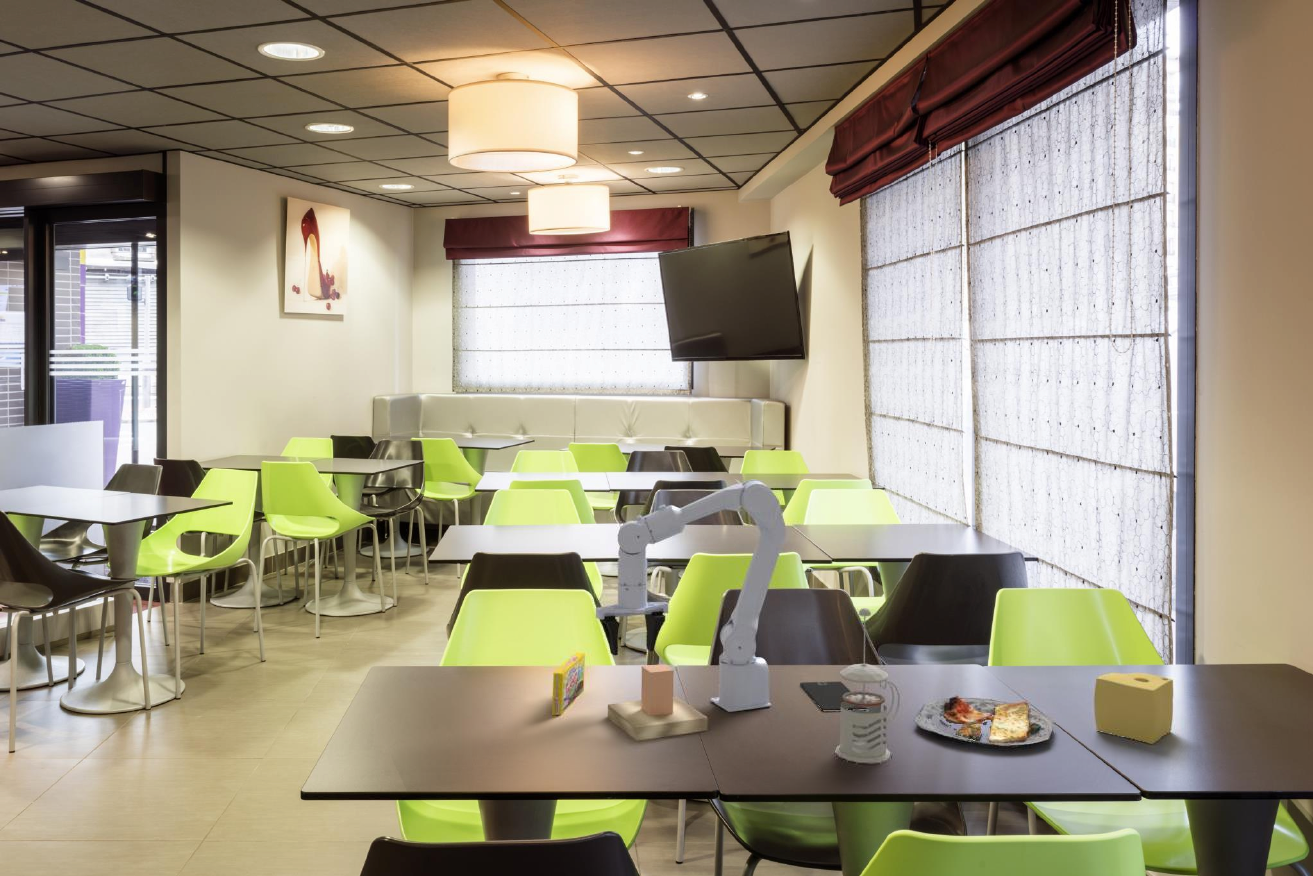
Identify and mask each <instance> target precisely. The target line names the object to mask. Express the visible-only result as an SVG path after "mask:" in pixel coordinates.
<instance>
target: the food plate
mask: <svg viewBox="0 0 1313 876" xmlns="http://www.w3.org/2000/svg"><path fill="white" fill-rule="evenodd" d="M954 695H955V694H954ZM984 713H990V714H984ZM935 715H939V716H940V717H941V716H943V717H944V718H945V719H946V721H947V722H949V723H954V724H963V725H962V726H963V727H961V729H959V730H958V731H957V732H955V736H954V735H952V734H949V733H947V732H943V731H944V730H943V731H941V729H940V728H939V729H938V728H937V727H936V725H934V724H935V722H934V721H933V724H930V723H931V721H928V719H929V718H930V719H932V717H934V716H935ZM992 715H994V716H992ZM939 716H938V717H937V719H939V718H940V717H939ZM985 720H991V722H992V726H990V727H989V728H990V737H989V739H988V740H989V742H988V741H983V740H981V741H980V740H978V739H979V738H980V737H981V735H980V733H981V730H982V729H981V726H980V725H975V724H982V722H983V721H985ZM914 722H915V723H916V725H917V726H918V727H920V728H921V729H923V730H926V731H929V732H933V733H936V734H939V735H942V736H945V737H948V738H952V737H953V738H952V739H955V740H959V741H962V740H967V741H971V742H970V743H973V742H974V743H975V744H979V745H980V743H982V744H981V745H987V744H990V745H991V746H996V745H999V746H998V747H1006V748H1009V747H1010V746H1012V747H1011V748H1016V747H1015V746H1017V747H1018V746H1021V745H1023V746H1024V745H1029V744H1030V745H1031V744H1034V743H1035V744H1036V743H1040V742H1044V741H1047V740H1049V739H1050V737H1051V735H1052V732H1053V728H1054V726H1055V725H1054V724H1055V722H1054V721H1053V720H1052V719H1051V718H1050V717H1048V716H1046V715H1045V714H1043V713H1041V712H1039V711H1036V710H1035V709H1033V708H1030V705H1029V703H1028V702H1027V701H1023V702H1022V701H1021V702H1013V703H1012V702H1006V701H1000V700H996V699H991V698H989V699H988V698H980V697H979V698H977V697H967V698H966V697H959V696H958V695H955V696H953V697H950V698H947V697H946V698H944V699H943V698H942V699H940V700H936V701H935V700H933V701H931V702H929V703H925V704H923V706H922V707H921V709H919V712H917V714H916V716H915V718H914ZM956 735H958V736H962V737H963V738H960V737H956ZM979 736H980V737H979ZM978 737H979V738H978ZM967 738H968V739H967ZM977 738H978V739H977ZM960 739H961V740H960ZM970 739H973V740H975V741H973V740H970ZM976 739H977V740H976ZM967 741H966V742H967ZM974 743H973V744H974Z"/></svg>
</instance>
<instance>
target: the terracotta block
mask: <svg viewBox="0 0 1313 876" xmlns="http://www.w3.org/2000/svg"><path fill="white" fill-rule="evenodd" d="M673 696H674V669H673V668H671V667H669V666H668V665H666V664H665V663H663V664H654V665H653V664H652V665H651V664H650V665H642V666H641V709H642V710H643V711H645V712H646V713H647V714H648V715H650V716H655V715H664V714H672V713H673Z"/></svg>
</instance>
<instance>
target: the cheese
mask: <svg viewBox="0 0 1313 876" xmlns="http://www.w3.org/2000/svg"><path fill="white" fill-rule="evenodd" d="M1094 686H1095V687H1094V696H1093V697H1094V698H1093V699H1094V700H1093V705H1094V706H1093V707H1094V719H1095V727H1096V731H1097V730H1098V731H1103V732H1106V733H1112V734H1114V735H1113V736H1115V735H1119V736H1124V737H1127V738H1131V739H1130V740H1132V739H1135V740H1134V741H1137V740H1138V742H1141V741H1142V743H1145V742H1146V744H1149V745H1153V744H1154V743H1155V744H1156V742H1158V741H1159V740H1160V739H1161V737H1162V736H1163V737H1164V735H1165V736H1166V735H1168V734H1169V733H1171V732H1172V725H1173V716H1174V715H1173V714H1174V712H1173V711H1174V710H1173V709H1174V702H1173V701H1174V679H1172V678H1166V677H1164V676H1159V675H1156V674H1150V673H1144V672H1131V673H1119V672H1110V673H1106V674H1105V673H1104V674H1102V675H1099V676H1098V677H1097V678H1096V679H1095V685H1094ZM1170 731H1171V732H1170ZM1167 733H1168V734H1167ZM1119 736H1118V737H1119ZM1163 737H1162V738H1163ZM1127 738H1126V739H1127Z"/></svg>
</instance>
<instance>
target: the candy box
mask: <svg viewBox="0 0 1313 876" xmlns="http://www.w3.org/2000/svg"><path fill="white" fill-rule="evenodd" d="M585 657H586V654H585V653H584V652H578V651H577V652H576V653H574V654H573V655H572V656H571V657H570V658H569V659H568V660H567V661H565V662H564V663H563V664H562V665H561V666H560V667H558V668H557V669H556V670H555V671H554V672H553V679H552V680H553V682H552V703H551V704H552V709H551V715H552V716H556V715H560V716H561V715H562V714H564V712H565V711H566V710H567V709H568V708H569V707H570V706H571V705H572V704H573V703H574V702H575V701H576V700H577V699H578V698H579V697H580V696H581V695H582V693H584V692H585V691H584V689H585V665H586V664H585V661H586V660H585V659H586V658H585ZM578 696H579V697H578ZM577 697H578V698H577ZM576 698H577V699H576ZM575 699H576V700H575Z"/></svg>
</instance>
